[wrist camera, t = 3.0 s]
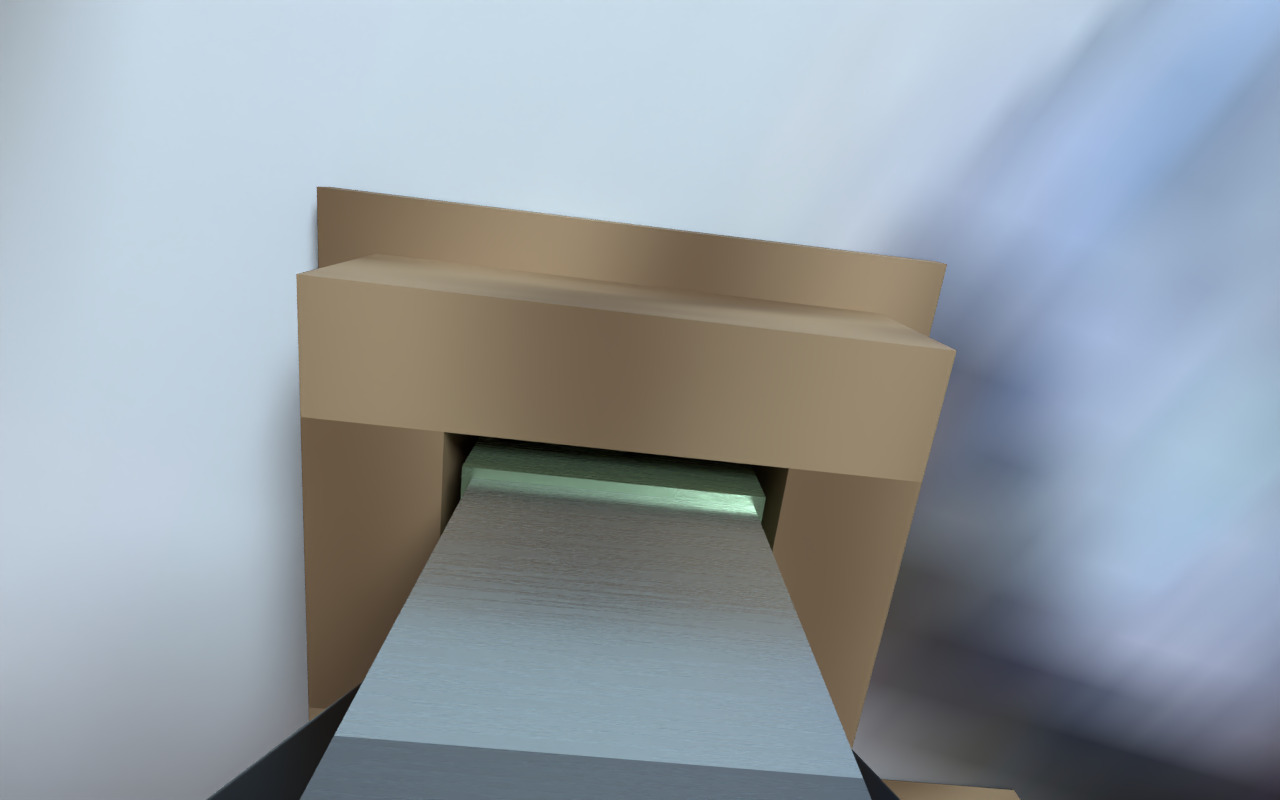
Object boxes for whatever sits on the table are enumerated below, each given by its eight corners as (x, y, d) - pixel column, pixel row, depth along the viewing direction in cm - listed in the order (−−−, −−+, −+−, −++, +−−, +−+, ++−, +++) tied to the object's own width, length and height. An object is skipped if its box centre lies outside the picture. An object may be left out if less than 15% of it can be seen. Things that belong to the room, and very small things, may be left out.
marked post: (740, 443, 12) (919, 835, 5) (704, 651, 13) (799, 1215, 6) (491, 416, 12) (271, 786, 4) (479, 630, 13) (293, 1191, 6)
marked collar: (935, 261, 13) (1084, 296, 8) (818, 739, 16) (886, 933, 12) (329, 187, 12) (173, 185, 8) (335, 699, 15) (229, 888, 11)
